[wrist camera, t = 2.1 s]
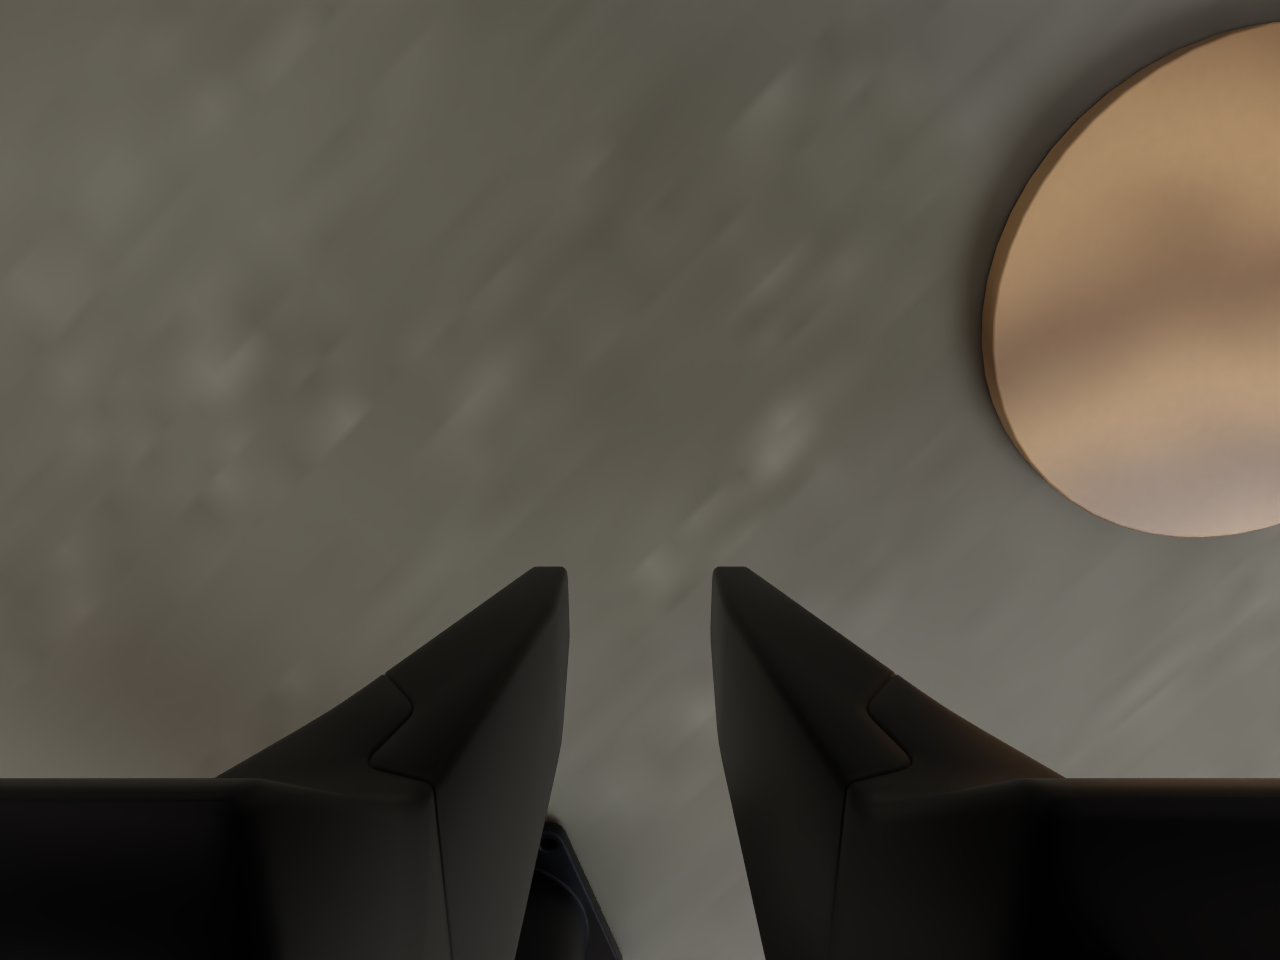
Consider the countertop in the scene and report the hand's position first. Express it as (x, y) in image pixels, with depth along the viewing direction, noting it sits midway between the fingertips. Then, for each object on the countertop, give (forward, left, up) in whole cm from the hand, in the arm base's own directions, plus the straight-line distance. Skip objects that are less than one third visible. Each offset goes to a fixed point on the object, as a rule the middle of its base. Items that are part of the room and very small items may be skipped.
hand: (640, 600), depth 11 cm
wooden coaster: (-3, -14, -12) cm, 19 cm away
